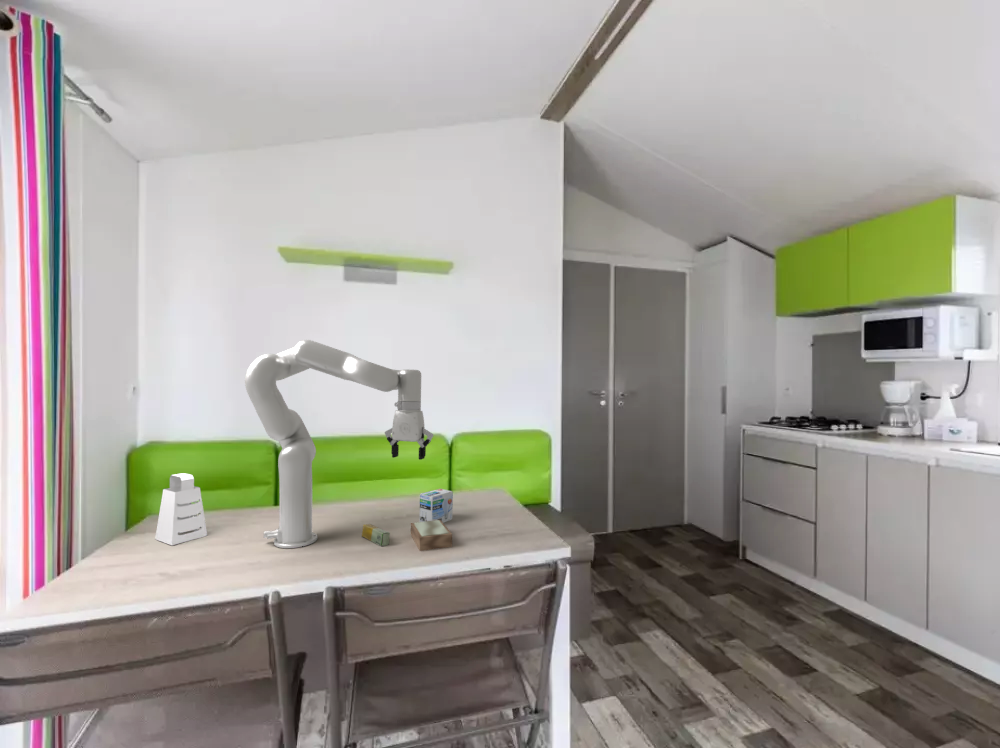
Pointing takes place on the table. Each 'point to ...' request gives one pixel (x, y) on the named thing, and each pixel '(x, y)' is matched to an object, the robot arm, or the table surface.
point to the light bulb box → (436, 505)
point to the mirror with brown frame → (431, 535)
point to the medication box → (375, 534)
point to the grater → (180, 511)
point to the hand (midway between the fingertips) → (408, 457)
